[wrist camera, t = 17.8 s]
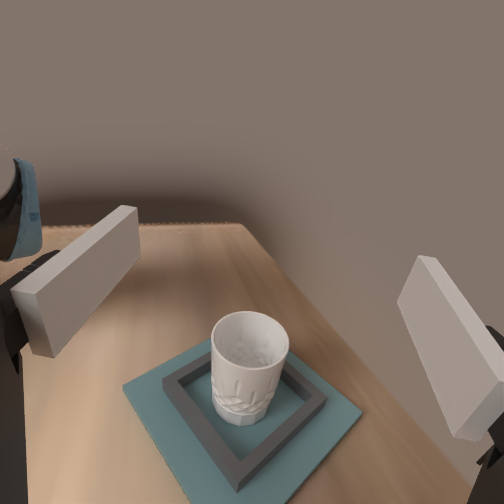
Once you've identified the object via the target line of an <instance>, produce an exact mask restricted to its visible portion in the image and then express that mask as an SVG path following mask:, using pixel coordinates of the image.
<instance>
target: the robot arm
mask: <svg viewBox="0 0 504 504" xmlns="http://www.w3.org/2000/svg"><path fill="white" fill-rule="evenodd" d="M39 214H40V211H39V201H38V193H37V185H36V178H35V172H34V167H33V165H32V163H30V162H28V161H26V160H20V159H18V158H17V159H16V158H12V156H11V155H10V153H9V151H8V150H7V149H6V148H5V147H4V146H3V145H2V144H1V143H0V261H4V262H9V261H12V260H13V259H17V258H22V257H28V256H32V255H35V254H36V253H38V252H39V251H40V249H41V248H42V229H41V220H40V215H39ZM140 257H141V252H140V239H139V226H138V212H137V208H136V207H130V206H124V205H121V206H120V207H118V208H117V209H116V210H114V211H113V212H112V213H110V214H109V215H108V216H106V217H105V218H104V219H102V220H101V221H100V222H99V223H97V224H96V225H94V226H93V227H92V228H90V229H89V230H88V231H87V232H85V233H84V234H83V235H81V236H80V237H79V238H77V239H76V240H75V241H73V242H72V243H71V244H69V245H68V246H67V247H65V248H64V249H63V250H61V251H60V250H54V251H52V252H49V253H47V254H44V255H42V256H41V257H39V258H38V259H36V260H35V261H34V262H32V263H31V265H28V266H27V267H25V268H24V269H23V271H20V272H18V273H17V274H15V275H14V276H13V277H11V278H10V279H9V280H7V281H6V282H4V283H3V284H2V285H0V504H28V487H27V463H26V439H25V415H24V390H23V366H22V356H21V353H20V350H21V349H22V348H23V347H24V346H25V345H26V344H27V343H28V342H29V345H30V348H31V350H32V353H33V354H35V355H40V356H45V357H50V358H55V357H56V356H57V355H58V353H59V352H60V351H61V350H62V349H63V348H64V346H65V345H66V344H67V343H68V342H69V341H70V339H71V338H72V337H73V336H74V335H75V333H76V332H77V331H78V330H79V329H80V328H81V326H82V325H83V324H84V323H85V322H86V321H87V319H88V318H89V317H90V316H91V315H92V314H93V312H94V311H95V310H96V309H97V308H98V306H99V305H100V304H101V303H102V302H103V301H104V299H105V298H106V297H107V296H108V295H109V294H110V292H111V291H112V290H113V289H114V288H115V287H116V285H117V284H118V283H119V282H120V281H121V280H122V278H123V277H124V276H125V275H126V274H127V272H128V271H129V270H130V269H131V268H132V267H133V265H134V264H135V263H136V262H137V261H138V260H139V258H140ZM397 304H398V306H399V309H400V311H401V314H402V316H403V319H404V321H405V323H406V326H407V328H408V331H409V333H410V335H411V338H412V340H413V343H414V345H415V347H416V349H417V352H418V354H419V357H420V359H421V362H422V364H423V367H424V369H425V371H426V374H427V376H428V379H429V381H430V383H431V386H432V388H433V391H434V393H435V396H436V398H437V400H438V402H439V405H440V407H441V410H442V412H443V415H444V417H445V419H446V422H447V424H448V427H449V429H450V432H451V434H452V436H453V437H455V438H461V439H465V440H470V441H475V442H478V441H479V440H480V439H481V438H482V437H483V436H484V435H485V433H486V432H487V431H488V432H489V433H490V435H491V437H492V439H493V441H494V443H495V444H494V445H493V446H492V447H491V448H490V449H489V450H488V451H487V452H486V453H485V454H484V455H483V456H482V457H481V458H480V459H479V460H478V461H477V462H476V463H477V464H479V465H481V464H482V463H483V465H482V468H481V470H480V472H479V475H478V477H477V479H476V482H475V484H474V487H473V489H472V492H471V494H470V497H469V499H468V502H467V504H504V337H503V336H502V335H501V334H499V333H498V332H497V331H495V329H493V328H492V327H491V326H485V325H484V324H483V323H482V321H481V320H480V319H479V317H478V316H477V314H476V313H475V312H474V310H473V309H472V308H471V306H470V305H469V303H468V302H467V301H466V299H465V298H464V297H463V295H462V294H461V292H460V291H459V289H458V288H457V287H456V285H455V284H454V283H453V281H452V280H451V278H450V277H449V276H448V274H447V273H446V271H445V270H444V269H443V267H442V266H441V264H440V263H439V262H438V261H437V259H436V258H433V257H427V256H420V255H419V256H418V258H417V260H416V262H415V264H414V266H413V268H412V271H411V273H410V275H409V277H408V279H407V281H406V283H405V285H404V288H403V290H402V292H401V294H400V296H399V298H398V300H397Z"/></svg>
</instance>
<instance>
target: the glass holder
mask: <svg viewBox="0 0 504 504" xmlns="http://www.w3.org/2000/svg"><path fill="white" fill-rule="evenodd" d="M123 391H124V393H125V395H126V396H127V398H128V400H129V401H130V403H131V405H132V406H133V408H134V410H135V411H136V413H137V414H138V416H139V418H140V419H141V421H142V423H143V424H144V426H145V428H146V429H147V431H148V433H149V434H150V436H151V438H152V439H153V441H154V443H155V444H156V446H157V448H158V449H159V451H160V453H161V454H162V456H163V458H164V459H165V461H166V463H167V464H168V466H169V468H170V469H171V471H172V473H173V474H174V476H175V477H176V479H177V481H178V482H179V484H180V486H181V487H182V489H183V491H184V492H185V494H186V496H187V497H188V499H189V501H190V502H191V504H286V503H287V502H288V501H289V500H290V498H291V497H292V496H293V495H294V494H295V493H296V491H297V490H298V489H299V488H300V487H301V486H302V485H303V483H304V482H305V481H306V480H307V479H308V478H309V476H310V475H311V474H312V473H313V472H314V471H315V469H316V468H317V467H318V466H319V465H320V464H321V462H322V461H323V460H324V459H325V458H326V457H327V455H328V454H329V453H330V452H331V451H332V450H333V448H334V447H335V446H336V445H337V444H338V443H339V442H340V440H341V439H342V438H343V437H344V436H345V435H346V433H347V432H348V431H349V430H350V429H351V428H352V426H353V425H354V424H355V423H356V422H357V421H358V419H359V418H360V417H361V415H362V413H363V412H362V411H361V410H360V409H359V408H357V407H356V406H355V405H354V404H353V403H351V402H350V401H349V400H348V399H347V398H345V397H344V396H343V395H342V394H341V393H340V392H338V391H337V390H336V389H335V388H334V387H332V386H331V385H330V384H329V383H328V382H326V381H325V380H324V379H323V378H322V377H321V376H319V375H318V374H317V373H316V372H315V371H313V370H312V369H311V368H310V367H309V366H307V365H306V364H305V363H304V362H303V361H302V360H300V359H299V358H298V357H297V356H296V355H294V354H293V353H292V352H291V351H290V350H288V353H287V356H286V359H285V362H284V365H283V369H282V372H281V375H280V378H279V382H278V384H277V387H276V390H275V393H274V396H273V398H272V400H271V403H270V406H269V408H268V410H267V412H266V414H265V416H264V417H263V418H262V419H260V420H259V421H258V422H256V423H255V424H253V425H246V426H237V425H233V424H230V423H227V422H226V421H224V420H223V419H222V418H221V417H220V416H219V415H218V414H217V413H216V410H215V408H214V405H213V402H212V384H211V338H210V339H208V340H206V341H204V342H202V343H200V344H198V345H197V346H195V347H193V348H191V349H189V350H187V351H186V352H184V353H182V354H180V355H178V356H176V357H174V358H173V359H171V360H169V361H167V362H165V363H163V364H161V365H160V366H158V367H156V368H154V369H152V370H150V371H149V372H147V373H145V374H143V375H141V376H139V377H137V378H136V379H134V380H132V381H130V382H128V383H126V384H125V385H123Z"/></svg>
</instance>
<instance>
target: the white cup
mask: <svg viewBox="0 0 504 504" xmlns="http://www.w3.org/2000/svg"><path fill="white" fill-rule="evenodd" d="M288 350H289V338H288V335H287V333H286V331H285V329H284V328H283V327H282V326H281V324H280V323H278V322H277V321H276V320H274V319H273V318H271V317H269V316H267V315H265V314H262V313H258V312H253V311H240V312H235V313H231V314H229V315H226V316H225V317H223V318H222V319H220V320H219V321H218V322H217V323H216V325H215V326H214V328H213V330H212V334H211V384H212V402H213V405H214V408H215V410H216V413H217V414H218V415H219V416H220V417H221V418H222V419H223V420H224V421H226V422H227V423H230V424H233V425H237V426H246V425H253V424H255V423H256V422H258V421H259V420H260V419H262V418H263V417H264V416H265V414H266V412H267V410H268V408H269V406H270V403H271V400H272V398H273V396H274V393H275V390H276V387H277V384H278V382H279V378H280V375H281V372H282V369H283V365H284V362H285V359H286V356H287V353H288Z"/></svg>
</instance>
